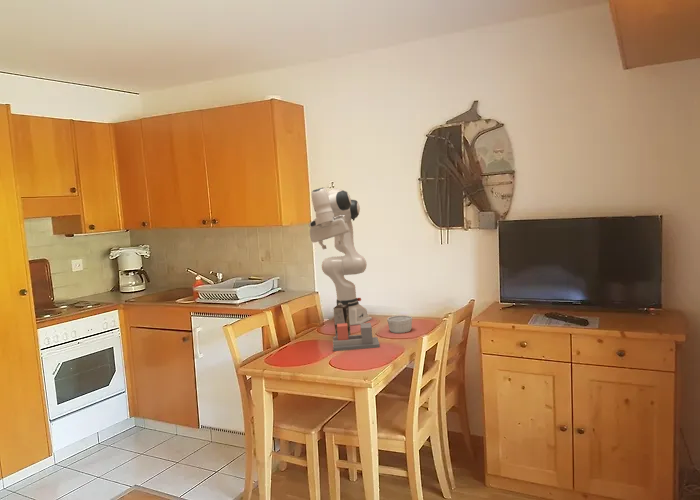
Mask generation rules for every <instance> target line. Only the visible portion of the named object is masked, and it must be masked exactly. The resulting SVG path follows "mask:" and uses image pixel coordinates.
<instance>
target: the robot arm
mask: <svg viewBox="0 0 700 500" xmlns="http://www.w3.org/2000/svg"><path fill="white" fill-rule="evenodd" d="M310 196H311V201H312V205H313V209H314V212H315V217H316V218H315V219H313V220H312V221H310V223H309V222H308V227H309V237H310V240H311V242H312V243H317V242H318V244H319V245H320V246H321V248H322V250H326V249H327V244H324V240H328V239H332V238H334V248H335V249H336V250H337V251H338V252H339V253H343V254H344V255H339V256H337V255H336V256H330V257H327V258H324V259H323V261H322V263H321V270H322V272H323V274H324V275H326V276H327V277H329V278H330V279H331V281H332V282H333V284H334V286H335V291H336V301H335V303H336V306H337V305H348V308H349V320H350V326H354V325H356V326H357V325H360V324H361V323H367V322H368V321H370V320H373V318H372V316H370V315H369V314H368V310H367V309H366V308H365V307H364V306H362V305H361V304H360V302H361V301H362V298H361V297H357V292H356V284H354V282H353V281H350V280H348V279H346V278H345V276H350V275H352V276H354V275H359V274H362V273H364V272H365V271H366V269H367V260H366V259H365V258H364V256H363V255H361V254H359V253H358V251H357V250H356V248H355V243H354V227H353V223H352V222H354V221H355V219H357V218H358V216H359V215H360V212H361V211H360V210H361V208H360V204H359V202H358V201H357V200H356V199H352V198H351V196H350V195H349V193H348V191H346V190H343V189H341V188H332V189H331V190H328V191H327V188H326V187H319V188H316V189H314V190H312V191H311V194H310Z"/></svg>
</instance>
